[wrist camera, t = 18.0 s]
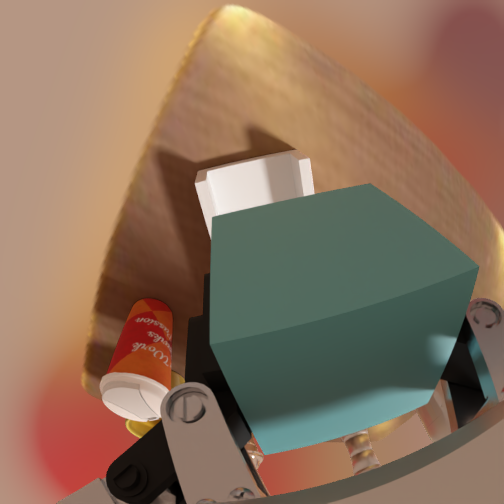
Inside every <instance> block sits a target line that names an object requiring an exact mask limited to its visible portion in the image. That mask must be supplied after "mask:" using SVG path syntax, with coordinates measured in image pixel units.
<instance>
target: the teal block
mask: <svg viewBox="0 0 504 504" xmlns="http://www.w3.org/2000/svg"><path fill="white" fill-rule="evenodd" d="M478 270H479V266H478V265H477V264H476V263H475V262H474V261H473V260H471V259H470V258H469V257H468V256H467V255H466V254H464V253H463V252H462V251H461V250H460V249H459V248H457V247H456V246H455V245H454V244H452V243H451V242H450V241H449V240H448V239H446V238H445V237H444V236H443V235H441V234H440V233H439V232H437V231H436V230H435V229H434V228H432V227H431V226H430V225H428V224H427V223H426V222H424V221H423V220H422V219H420V218H419V217H418V216H416V215H415V214H414V213H412V212H411V211H410V210H408V209H407V208H405V207H404V206H403V205H401V204H400V203H398V202H397V201H396V200H394V199H393V198H391V197H390V196H388V195H387V194H385V193H384V192H382V191H381V190H379V189H378V188H376V187H375V186H373V185H372V184H364V185H359V186H353V187H348V188H343V189H338V190H333V191H327V192H322V193H317V194H313V195H308V196H303V197H298V198H293V199H289V200H284V201H279V202H275V203H270V204H266V205H261V206H257V207H252V208H248V209H243V210H239V211H235V212H231V213H226V214H222V215H218V216H214V217H212V230H211V265H210V346H211V348H212V350H213V353H214V355H215V357H216V359H217V361H218V364H219V366H220V368H221V370H222V372H223V374H224V376H225V378H226V381H227V383H228V385H229V387H230V389H231V391H232V393H233V395H234V397H235V399H236V401H237V403H238V405H239V407H240V409H241V411H242V413H243V415H244V417H245V419H246V421H247V423H248V425H249V427H250V429H251V430H252V432H253V434H254V436H255V438H256V440H257V442H258V443H259V445H260V447H261V449H262V451H263V453H264V455H267V454H272V453H278V452H282V451H288V450H292V449H297V448H301V447H305V446H309V445H313V444H317V443H321V442H325V441H328V440H332V439H335V438H339V437H342V436H345V435H348V434H352V433H355V432H358V431H361V430H364V429H366V428H369V427H372V426H375V425H378V424H380V423H383V422H385V421H388V420H391V419H393V418H396V417H398V416H400V415H403V414H405V413H407V412H410V411H412V410H414V409H417V408H419V407H421V406H423V405H425V404H427V403H428V402H429V400H430V398H431V396H432V394H433V392H434V390H435V388H436V386H437V384H438V382H439V380H440V377H441V375H442V373H443V371H444V369H445V366H446V364H447V362H448V360H449V357H450V355H451V352H452V350H453V347H454V345H455V342H456V340H457V337H458V335H459V332H460V329H461V326H462V323H463V321H464V318H465V315H466V312H467V309H468V305H469V302H470V299H471V296H472V292H473V289H474V285H475V281H476V278H477V274H478Z"/></svg>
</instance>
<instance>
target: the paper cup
mask: <svg viewBox="0 0 504 504" xmlns="http://www.w3.org/2000/svg"><path fill="white" fill-rule="evenodd" d="M172 333H173V315H172V312H171V310H170V308H169V307H168V306H167V305H166V304H165V303H163V302H161V301H159V300H157V299H152V298H145V299H141V300H139V301H137V302H136V303H135V304H134V305H133V307H132V309H131V311H130V313H129V316H128V318H127V320H126V323H125V325H124V328H123V330H122V333H121V335H120V338H119V341H118V343H117V346H116V349H115V351H114V354H113V357H112V360H111V362H110V365H109V368H108V371H107V374H106V375H105V376H103V377H102V380H101V382H100V390H101V393H102V400H103V402H104V404H105V405H106V406H107V407H108V408H109V409H110V410H111V411H113V412H114V413H116V414H118V415H119V416H122V417H124V418H127V419H130V420H134V421H141V422H147V420H149V421H153V420H158V419H159V418H160V417H161V414H160V406H161V403H162V400H163V398H164V397H165V395H166V394H167V393H168V392H169V391H170V390H171V361H172ZM148 418H149V419H148Z"/></svg>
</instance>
